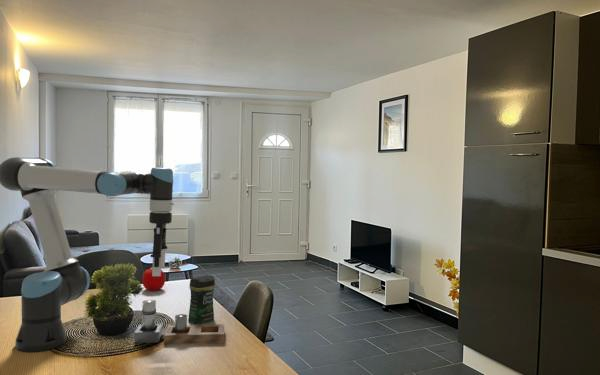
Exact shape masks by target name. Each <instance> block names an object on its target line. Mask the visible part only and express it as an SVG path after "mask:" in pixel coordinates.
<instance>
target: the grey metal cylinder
mask: <svg viewBox="0 0 600 375" xmlns="http://www.w3.org/2000/svg"><path fill="white" fill-rule="evenodd" d="M156 305H157V301H156V299H145V300H142V310H141V322H142V324H141V325H142V331H155V324H156V320H157V318H156V317H157V316H156V314H157V306H156Z"/></svg>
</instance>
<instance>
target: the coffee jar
mask: <svg viewBox="0 0 600 375" xmlns="http://www.w3.org/2000/svg"><path fill="white" fill-rule="evenodd" d="M215 280H216V279H215V277H214V276H213V275H209V274H205V275H199V276H194V277H191V278H190V280H189V290H190V300H189V301H190V303H189V309H188V310H189V311H188V317H187V323H189V324H191V325H206V324H208V323H211V322H213V321H215V312H214V290H215V288H216V282H215Z"/></svg>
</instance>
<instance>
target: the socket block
mask: <svg viewBox="0 0 600 375" xmlns="http://www.w3.org/2000/svg"><path fill="white" fill-rule="evenodd" d="M162 335H163V324H162V323H157V324H156V323H155V331H142V324H138V326H137V328H136V329H135V331H134V338H133V340H134V343H135V344H140V343H142V344H144V343H148V344H149V343H159V342H160V340H161V337H162Z"/></svg>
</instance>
